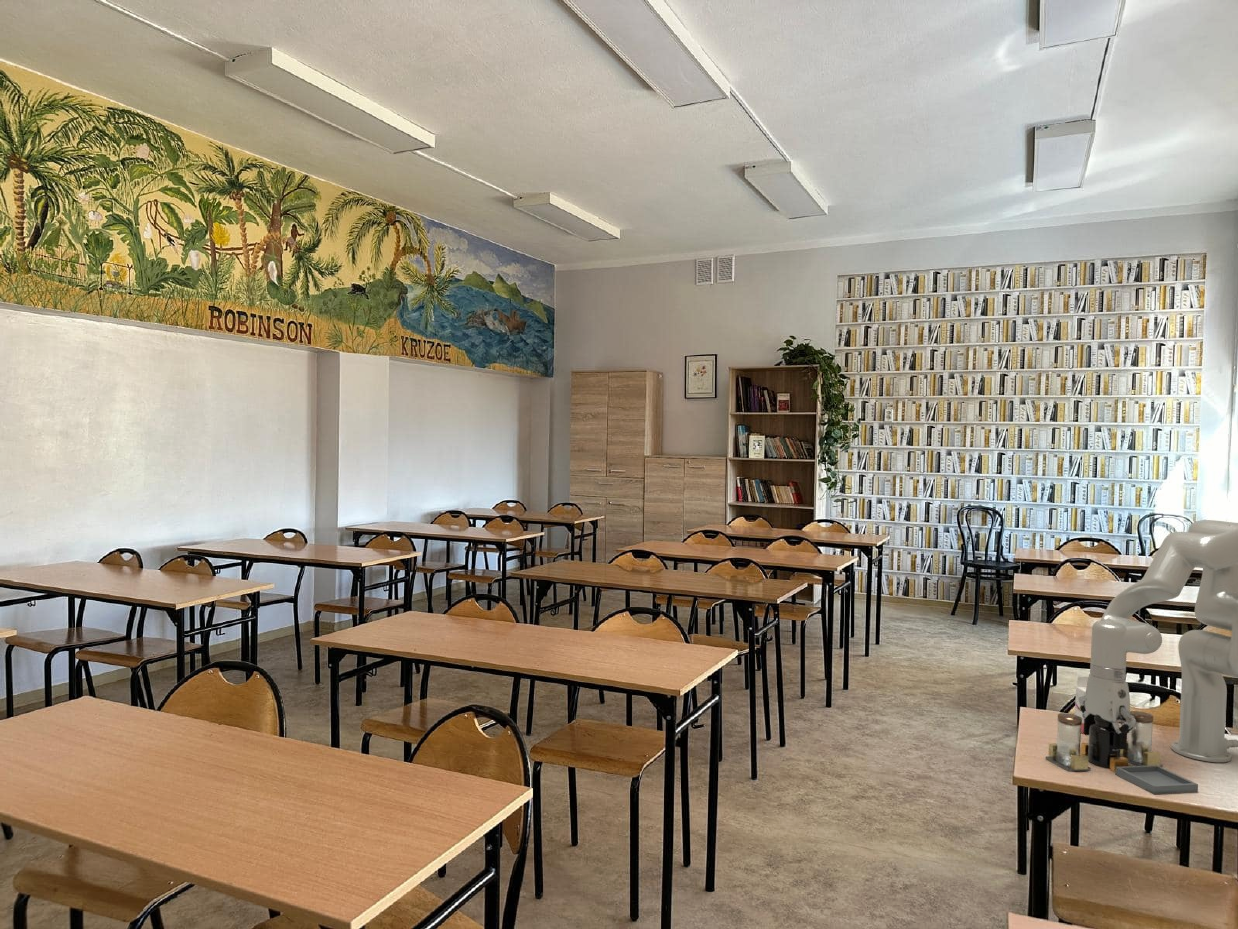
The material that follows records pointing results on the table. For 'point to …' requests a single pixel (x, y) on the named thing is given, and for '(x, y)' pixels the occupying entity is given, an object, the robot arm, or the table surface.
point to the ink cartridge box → (1079, 693)
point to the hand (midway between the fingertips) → (1104, 741)
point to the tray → (1156, 779)
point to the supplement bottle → (1101, 742)
